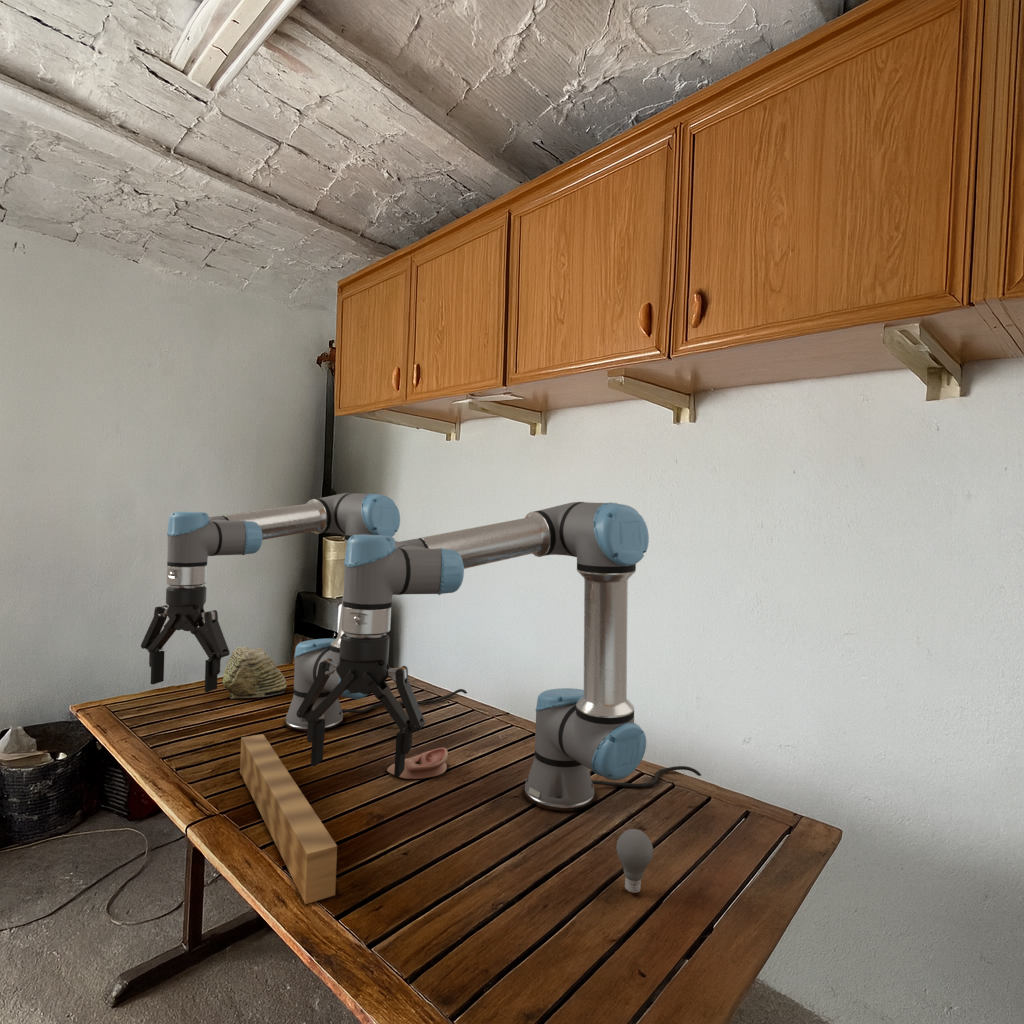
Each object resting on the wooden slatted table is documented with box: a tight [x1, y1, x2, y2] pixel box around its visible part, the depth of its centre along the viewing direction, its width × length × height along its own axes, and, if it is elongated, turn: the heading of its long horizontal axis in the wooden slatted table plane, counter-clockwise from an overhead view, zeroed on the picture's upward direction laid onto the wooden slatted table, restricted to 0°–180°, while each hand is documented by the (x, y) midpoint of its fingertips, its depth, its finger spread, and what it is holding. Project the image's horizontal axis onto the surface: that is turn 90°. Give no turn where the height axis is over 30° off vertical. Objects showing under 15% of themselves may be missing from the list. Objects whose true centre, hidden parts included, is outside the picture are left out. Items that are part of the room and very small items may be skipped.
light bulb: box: [615, 828, 654, 894], centre depth 106 cm, size 6×6×10 cm
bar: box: [239, 733, 338, 905], centre depth 122 cm, size 54×5×8 cm, turn 33°
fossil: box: [222, 646, 288, 699], centre depth 198 cm, size 9×18×15 cm, turn 132°
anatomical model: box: [386, 747, 449, 780], centre depth 149 cm, size 13×4×12 cm
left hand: (183, 686), depth 133 cm, fingers open, 13 cm apart
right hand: (357, 768), depth 99 cm, fingers open, 13 cm apart
